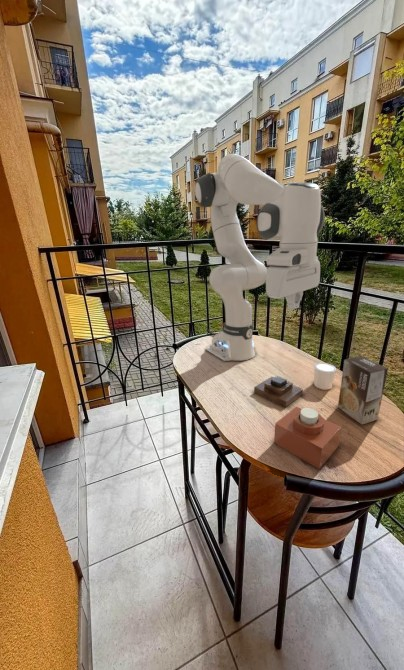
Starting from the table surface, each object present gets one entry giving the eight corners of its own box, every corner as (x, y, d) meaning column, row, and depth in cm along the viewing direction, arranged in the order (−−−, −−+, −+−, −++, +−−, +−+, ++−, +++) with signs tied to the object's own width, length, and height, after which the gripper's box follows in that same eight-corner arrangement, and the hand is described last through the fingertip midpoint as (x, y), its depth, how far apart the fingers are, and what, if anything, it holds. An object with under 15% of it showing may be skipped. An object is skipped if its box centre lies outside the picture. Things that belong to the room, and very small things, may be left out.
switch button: (270, 384, 91) (270, 379, 91) (276, 380, 94) (277, 375, 93) (280, 388, 89) (280, 383, 88) (286, 384, 91) (286, 379, 91)
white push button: (296, 419, 68) (297, 412, 67) (305, 412, 71) (305, 405, 70) (312, 427, 65) (313, 420, 65) (320, 419, 68) (321, 412, 67)
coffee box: (379, 419, 78) (390, 368, 73) (361, 425, 76) (371, 373, 71) (352, 402, 86) (361, 355, 81) (336, 406, 85) (343, 359, 79)
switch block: (254, 392, 94) (254, 382, 92) (271, 381, 100) (271, 371, 98) (285, 407, 85) (286, 396, 84) (302, 394, 91) (303, 383, 90)
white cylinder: (335, 391, 92) (338, 372, 90) (313, 389, 94) (316, 371, 91) (331, 380, 99) (333, 363, 96) (310, 379, 100) (312, 362, 98)
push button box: (273, 442, 72) (275, 416, 69) (294, 424, 78) (296, 400, 75) (319, 469, 63) (323, 441, 61) (338, 446, 70) (342, 420, 67)
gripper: (306, 251, 78) (302, 299, 83) (262, 258, 65) (260, 315, 70) (329, 251, 74) (323, 303, 78) (286, 259, 61) (282, 320, 66)
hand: (293, 309), depth 74 cm, fingers closed
